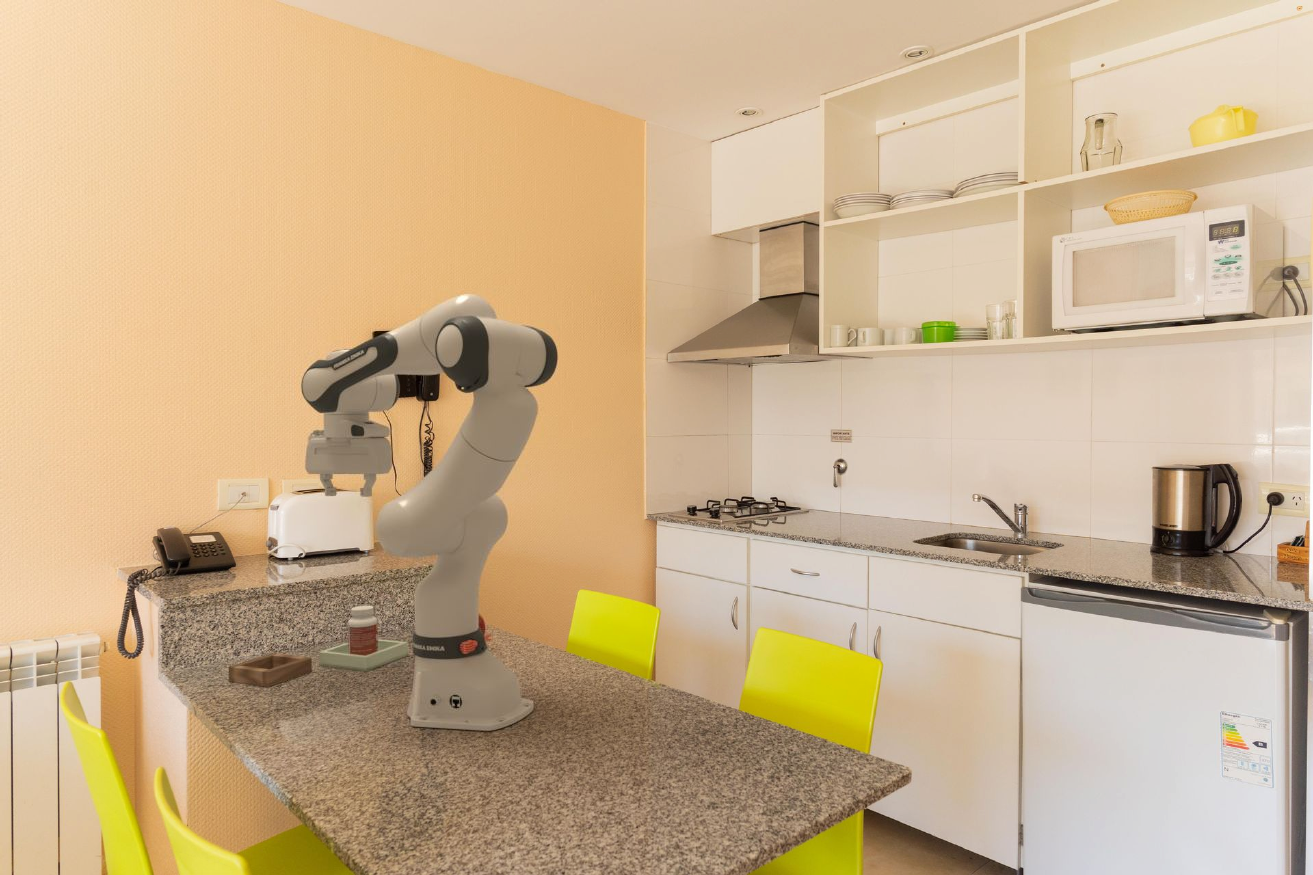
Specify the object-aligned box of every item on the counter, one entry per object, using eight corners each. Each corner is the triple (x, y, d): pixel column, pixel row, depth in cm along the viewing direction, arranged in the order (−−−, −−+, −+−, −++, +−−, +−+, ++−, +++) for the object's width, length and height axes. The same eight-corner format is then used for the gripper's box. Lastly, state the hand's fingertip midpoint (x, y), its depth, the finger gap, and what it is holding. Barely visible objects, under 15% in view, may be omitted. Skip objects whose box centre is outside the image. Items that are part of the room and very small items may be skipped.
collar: (311, 671, 170) (311, 657, 170) (268, 687, 160) (268, 672, 160) (273, 666, 175) (273, 653, 175) (228, 681, 165) (228, 666, 165)
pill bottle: (383, 657, 178) (382, 607, 178) (355, 663, 174) (354, 611, 174) (370, 652, 183) (369, 603, 183) (343, 658, 178) (342, 607, 178)
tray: (407, 655, 182) (407, 642, 182) (366, 671, 170) (365, 657, 170) (362, 650, 187) (362, 637, 187) (319, 665, 175) (319, 651, 175)
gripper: (296, 430, 168) (298, 496, 168) (374, 428, 160) (375, 498, 160) (320, 430, 174) (321, 494, 174) (396, 428, 166) (397, 495, 166)
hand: (348, 496), depth 167 cm, fingers open, 8 cm apart
